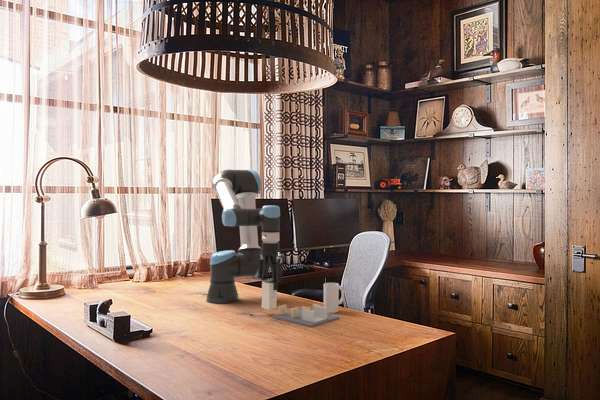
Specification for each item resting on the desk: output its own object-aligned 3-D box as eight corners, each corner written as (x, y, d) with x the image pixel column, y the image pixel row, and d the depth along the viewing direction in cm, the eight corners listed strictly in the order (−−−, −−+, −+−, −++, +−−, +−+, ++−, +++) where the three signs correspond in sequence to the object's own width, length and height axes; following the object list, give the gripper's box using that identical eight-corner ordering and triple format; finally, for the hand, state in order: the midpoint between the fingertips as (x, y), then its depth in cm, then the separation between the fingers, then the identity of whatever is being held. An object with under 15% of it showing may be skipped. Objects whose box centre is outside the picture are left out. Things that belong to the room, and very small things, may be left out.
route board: (272, 317, 204) (272, 304, 204) (301, 310, 218) (301, 298, 218) (311, 327, 191) (311, 313, 190) (339, 318, 204) (339, 305, 204)
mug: (327, 313, 212) (328, 285, 212) (320, 310, 218) (320, 283, 218) (347, 311, 216) (348, 284, 216) (340, 308, 222) (340, 281, 222)
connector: (261, 307, 210) (262, 279, 210) (268, 305, 213) (269, 278, 213) (268, 309, 207) (269, 281, 207) (276, 307, 210) (277, 279, 210)
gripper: (249, 240, 212) (249, 294, 213) (279, 244, 201) (278, 301, 202) (262, 239, 218) (261, 291, 219) (291, 243, 206) (290, 298, 207)
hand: (269, 296), depth 210 cm, fingers closed on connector, 4 cm apart
